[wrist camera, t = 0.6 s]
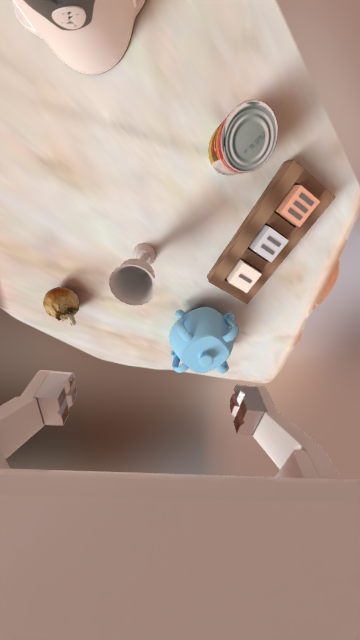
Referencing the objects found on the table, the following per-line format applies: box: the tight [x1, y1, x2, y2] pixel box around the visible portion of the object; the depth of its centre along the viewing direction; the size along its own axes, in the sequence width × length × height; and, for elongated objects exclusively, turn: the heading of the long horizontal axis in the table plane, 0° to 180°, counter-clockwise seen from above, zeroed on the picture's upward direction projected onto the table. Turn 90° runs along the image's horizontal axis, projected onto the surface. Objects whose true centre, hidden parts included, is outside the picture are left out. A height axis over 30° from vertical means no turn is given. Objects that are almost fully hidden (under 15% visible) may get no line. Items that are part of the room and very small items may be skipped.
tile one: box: [226, 259, 262, 293], centre depth 49 cm, size 5×5×3 cm
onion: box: [43, 287, 79, 325], centre depth 52 cm, size 8×8×8 cm
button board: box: [207, 160, 335, 304], centre depth 48 cm, size 26×11×4 cm, turn 149°
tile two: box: [249, 225, 288, 262], centre depth 46 cm, size 5×5×3 cm
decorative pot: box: [170, 307, 239, 373], centre depth 56 cm, size 16×16×14 cm
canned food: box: [208, 100, 278, 175], centre depth 36 cm, size 8×8×12 cm
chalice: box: [109, 243, 156, 305], centre depth 43 cm, size 7×7×18 cm
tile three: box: [275, 185, 320, 227], centre depth 42 cm, size 5×5×3 cm
